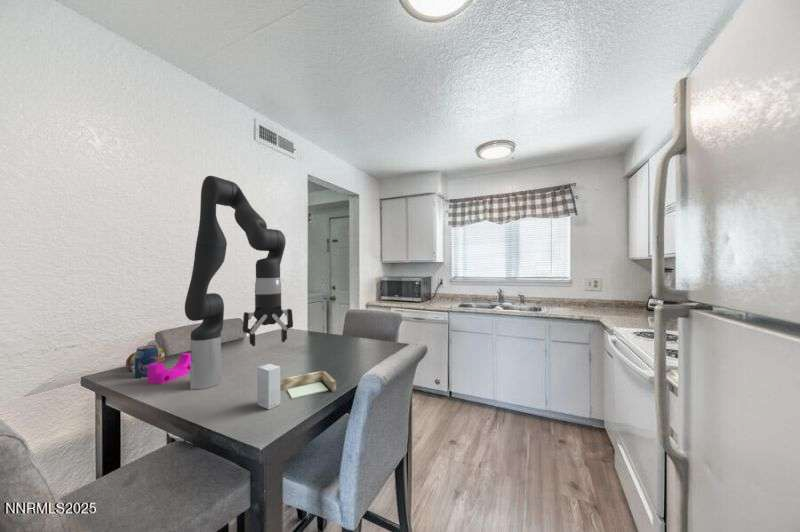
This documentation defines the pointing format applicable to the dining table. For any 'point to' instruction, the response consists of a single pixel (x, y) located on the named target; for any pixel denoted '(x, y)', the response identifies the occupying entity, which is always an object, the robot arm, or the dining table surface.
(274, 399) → the skincare box
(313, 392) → the mat
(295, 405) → the dining table surface
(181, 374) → the magenta notched block
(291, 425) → the dining table surface
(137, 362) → the soda can
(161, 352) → the tin
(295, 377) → the wooden angle bracket
